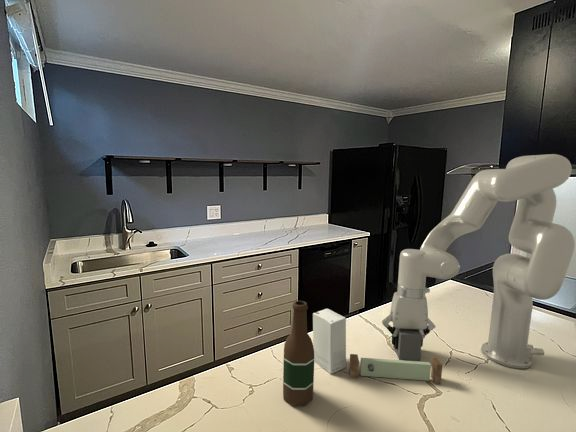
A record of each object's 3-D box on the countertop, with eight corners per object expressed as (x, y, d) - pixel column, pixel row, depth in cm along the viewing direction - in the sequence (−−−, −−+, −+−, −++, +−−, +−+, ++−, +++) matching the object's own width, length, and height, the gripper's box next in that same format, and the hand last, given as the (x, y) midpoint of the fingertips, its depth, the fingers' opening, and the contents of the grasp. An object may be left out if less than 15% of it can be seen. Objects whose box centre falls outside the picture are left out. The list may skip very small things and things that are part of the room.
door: (427, 377, 83) (429, 362, 82) (430, 383, 81) (432, 367, 80) (360, 372, 85) (360, 357, 84) (361, 378, 82) (362, 362, 82)
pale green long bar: (436, 376, 84) (437, 358, 83) (440, 384, 81) (442, 364, 80) (349, 370, 86) (350, 352, 85) (350, 377, 83) (351, 358, 82)
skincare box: (346, 368, 87) (348, 318, 85) (329, 375, 84) (332, 323, 82) (326, 353, 94) (328, 307, 92) (310, 359, 91) (312, 311, 88)
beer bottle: (289, 412, 70) (291, 312, 67) (277, 390, 78) (278, 298, 74) (319, 402, 74) (323, 306, 70) (304, 382, 81) (307, 294, 77)
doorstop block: (412, 347, 98) (414, 324, 97) (420, 361, 91) (422, 335, 90) (393, 346, 98) (394, 322, 97) (399, 359, 91) (400, 334, 90)
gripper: (436, 287, 95) (431, 342, 97) (378, 285, 96) (375, 339, 99) (446, 297, 87) (440, 356, 90) (383, 294, 89) (380, 352, 91)
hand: (406, 347), depth 94 cm, fingers closed on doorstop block, 6 cm apart
